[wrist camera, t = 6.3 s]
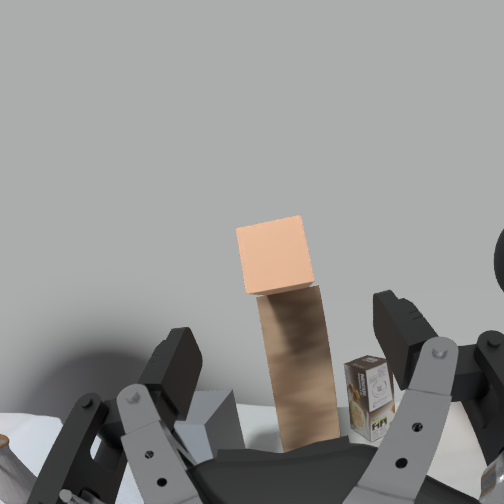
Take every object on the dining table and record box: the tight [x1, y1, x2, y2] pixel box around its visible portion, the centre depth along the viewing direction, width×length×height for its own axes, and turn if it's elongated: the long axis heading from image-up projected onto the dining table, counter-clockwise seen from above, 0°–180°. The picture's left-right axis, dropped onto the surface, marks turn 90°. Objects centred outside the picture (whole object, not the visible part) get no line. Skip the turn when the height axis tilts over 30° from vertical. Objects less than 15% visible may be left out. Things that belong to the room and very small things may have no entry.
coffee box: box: [344, 355, 395, 442], centre depth 44 cm, size 9×6×16 cm
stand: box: [257, 285, 340, 453], centre depth 29 cm, size 6×14×32 cm, turn 171°
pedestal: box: [174, 389, 246, 464], centre depth 27 cm, size 7×12×20 cm, turn 171°
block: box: [236, 215, 314, 295], centre depth 29 cm, size 4×26×4 cm, turn 171°
